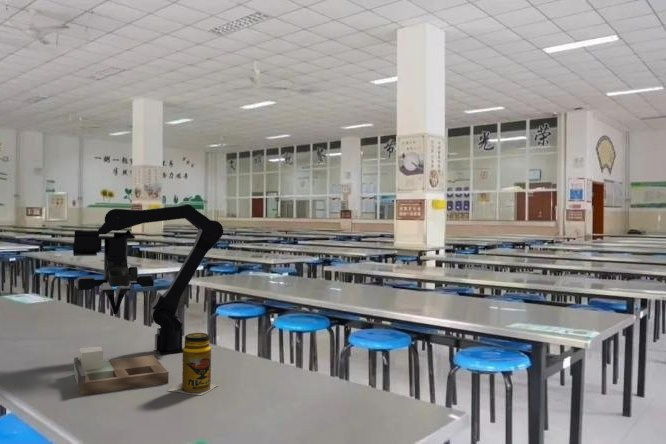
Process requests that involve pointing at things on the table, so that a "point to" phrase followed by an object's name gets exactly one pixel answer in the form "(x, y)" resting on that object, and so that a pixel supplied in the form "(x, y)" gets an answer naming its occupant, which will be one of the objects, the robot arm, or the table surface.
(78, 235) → the robot arm
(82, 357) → the block
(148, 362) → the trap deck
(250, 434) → the table surface
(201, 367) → the condiment
